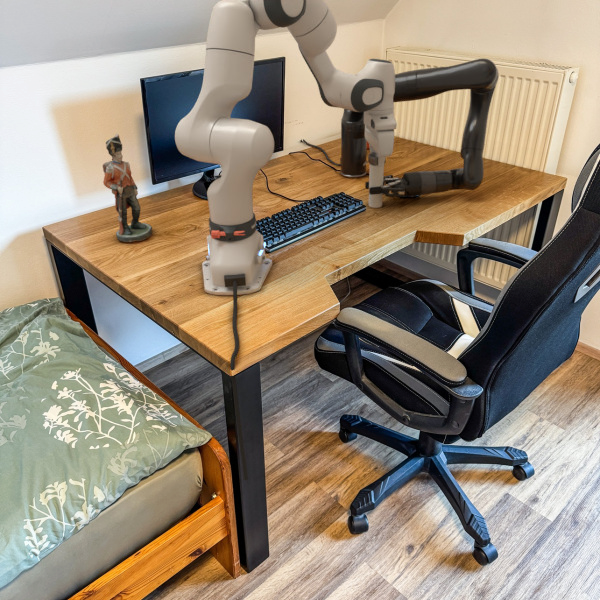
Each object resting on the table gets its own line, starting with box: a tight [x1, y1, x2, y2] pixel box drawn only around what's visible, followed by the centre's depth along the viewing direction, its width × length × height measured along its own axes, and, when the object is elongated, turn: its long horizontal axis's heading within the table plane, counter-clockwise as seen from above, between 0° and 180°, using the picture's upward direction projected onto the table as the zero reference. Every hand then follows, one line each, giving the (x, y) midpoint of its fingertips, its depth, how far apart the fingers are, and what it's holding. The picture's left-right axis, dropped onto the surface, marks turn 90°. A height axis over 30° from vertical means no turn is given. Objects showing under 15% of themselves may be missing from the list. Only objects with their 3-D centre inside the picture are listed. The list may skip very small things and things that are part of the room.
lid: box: [367, 153, 387, 165], centre depth 174 cm, size 5×5×2 cm
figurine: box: [102, 133, 153, 243], centre depth 161 cm, size 11×11×30 cm
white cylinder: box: [368, 164, 385, 209], centre depth 178 cm, size 4×4×16 cm
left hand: (377, 162), depth 175 cm, fingers open, 7 cm apart
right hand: (367, 188), depth 179 cm, fingers closed on white cylinder, 4 cm apart
